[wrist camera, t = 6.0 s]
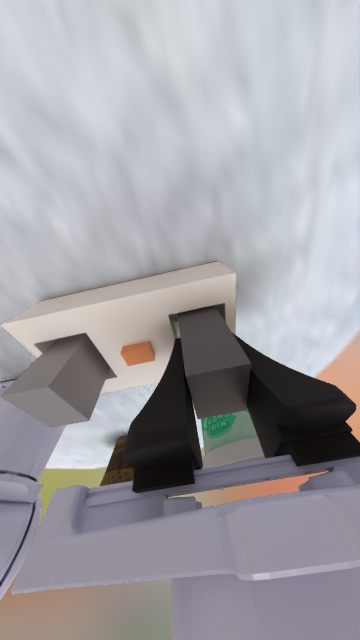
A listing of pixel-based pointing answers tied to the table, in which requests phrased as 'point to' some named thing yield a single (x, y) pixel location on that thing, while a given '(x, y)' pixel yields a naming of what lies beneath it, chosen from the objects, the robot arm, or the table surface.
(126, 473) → the ceramic cup
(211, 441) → the food container
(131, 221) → the table surface
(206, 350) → the dark grey square prism
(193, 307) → the power strip
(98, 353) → the charcoal plug
